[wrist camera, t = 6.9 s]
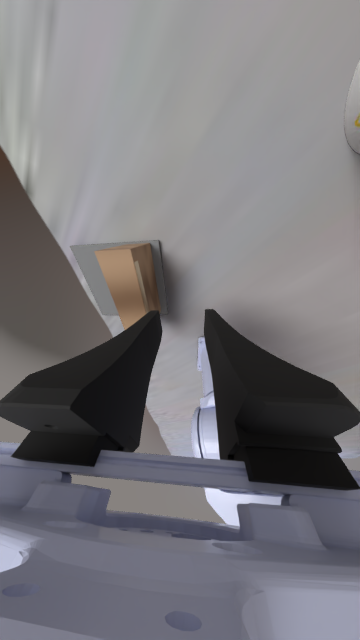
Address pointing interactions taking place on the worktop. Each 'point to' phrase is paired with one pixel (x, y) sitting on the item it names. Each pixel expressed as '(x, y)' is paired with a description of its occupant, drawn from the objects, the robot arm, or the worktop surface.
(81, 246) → the mat
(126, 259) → the slab
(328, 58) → the worktop surface
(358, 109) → the cup
